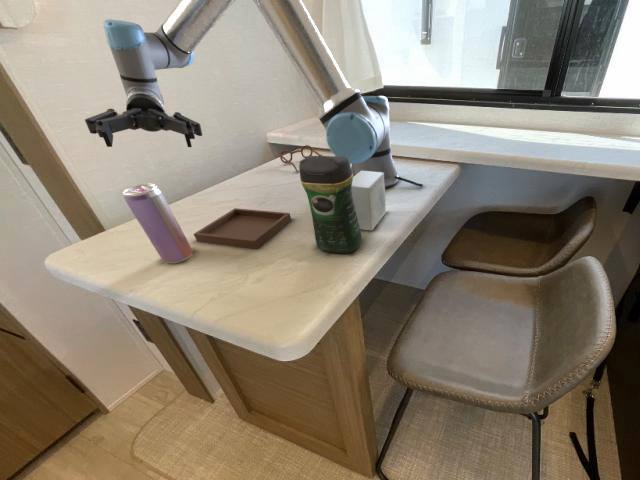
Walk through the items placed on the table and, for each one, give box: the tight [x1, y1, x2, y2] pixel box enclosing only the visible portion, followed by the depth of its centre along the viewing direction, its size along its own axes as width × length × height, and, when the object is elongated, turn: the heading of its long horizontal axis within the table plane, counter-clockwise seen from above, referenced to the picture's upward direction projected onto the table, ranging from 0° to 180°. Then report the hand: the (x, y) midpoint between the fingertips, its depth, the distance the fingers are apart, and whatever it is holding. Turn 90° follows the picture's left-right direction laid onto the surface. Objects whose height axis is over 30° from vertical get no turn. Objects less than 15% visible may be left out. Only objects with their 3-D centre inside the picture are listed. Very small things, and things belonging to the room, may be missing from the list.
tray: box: [193, 207, 292, 250], centre depth 76 cm, size 17×15×2 cm
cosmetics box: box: [352, 171, 387, 231], centre depth 75 cm, size 10×6×10 cm, turn 163°
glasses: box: [279, 144, 324, 173], centre depth 116 cm, size 13×13×5 cm
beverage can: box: [122, 183, 194, 265], centre depth 64 cm, size 6×6×15 cm
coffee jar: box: [298, 155, 363, 254], centre depth 63 cm, size 10×8×19 cm
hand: (149, 140), depth 64 cm, fingers open, 13 cm apart
